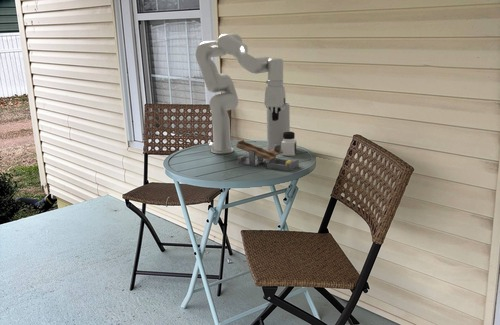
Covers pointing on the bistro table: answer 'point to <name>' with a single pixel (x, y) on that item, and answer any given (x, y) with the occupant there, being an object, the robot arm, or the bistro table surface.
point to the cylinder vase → (277, 127)
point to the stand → (250, 159)
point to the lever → (260, 150)
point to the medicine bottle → (288, 144)
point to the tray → (282, 164)
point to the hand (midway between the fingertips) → (275, 120)
